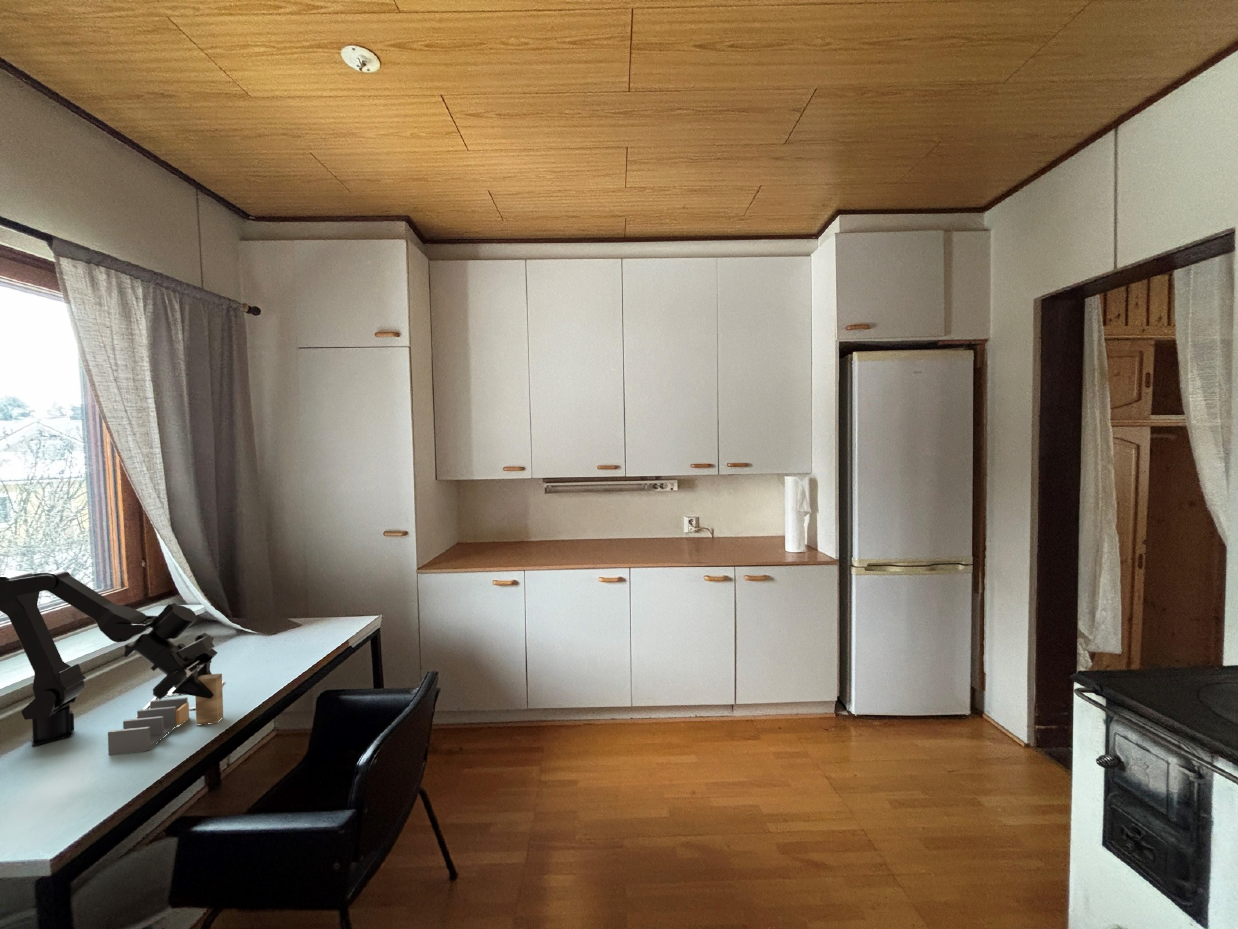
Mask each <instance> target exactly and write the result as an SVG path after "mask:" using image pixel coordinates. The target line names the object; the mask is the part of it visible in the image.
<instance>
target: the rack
mask: <svg viewBox="0 0 1238 929" xmlns="http://www.w3.org/2000/svg"><path fill="white" fill-rule="evenodd" d="M151 700H152V699H151ZM151 700H150V701H151ZM150 701H149V702H150ZM189 708H190V703H189V700H188V697H177V698H165V699H164V698H162V699H160V700H159V699H156V700H152V701H151V702H150V707H149V708H148V709H144V708H141V709H138V710H137V711H136V712H137V715H136V716H137V719H135V718H130V719H129V718H128V719H124V720H122V724H123V726H122V729H113V730H109V731H107V747H108V756H113V755H124V754H133V753H141V752H143V753H144V752H148V751H147V750H149V751H151V750H152V749H153V748H154V747H155V746H157V744H156V743H157V742H159V741H160V739H162V738H163V737H164V736H165V735H166V734H168V732H170V731H171V730H172V729H173V728H174V727H176V726H177V725H180V724H182V723H183V722H184V721H186V720H187V719H188V718H189V719H190V711H189ZM189 719H188V720H189ZM188 720H187V721H188ZM187 721H186V722H187ZM182 725H183V724H182ZM176 728H177V727H176ZM170 733H171V732H170ZM168 735H169V734H168ZM163 739H164V738H163ZM163 739H162V740H163ZM160 742H161V741H160ZM160 742H159V743H160ZM154 745H155V746H154ZM153 746H154V747H153ZM152 747H153V748H152ZM151 748H152V749H151ZM150 749H151V750H150Z"/></svg>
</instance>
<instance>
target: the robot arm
mask: <svg viewBox="0 0 1238 929" xmlns="http://www.w3.org/2000/svg"><path fill="white" fill-rule="evenodd" d="M45 591H46V592H49V593H51V594H52V595H53V596H56V597H57V598H59V599H60V600H62V601H64V602H65V603H67V604H68V605H70V606H71V607H73V608H74V609H75V610H78V611H79V612H81V613H82V614H84V615H86V616H87V617H89V618H90V619H92V620H93V621H94V623H96V625H97V627H98V630H99V631H100V632H101V633H102V634H104V636H105V637H107V638H108V639H109V640H111V641H112V642H113V643H123V642H124V643H125V642H127V641H129V640H131V639H133V638H135V637H137V636H138V637H137V639H135V640H134V641H131V642H128V643H126V644H125V645H124V655H123V656H124V657H125V658H128V657H129V656H132V655H133V654H136V653H137V654H138V655H140V656H141V657H142V658H143V659H145V660H146V661H147V662H149V663H150V664H151V665H152V666H151V667H150V670H152V671H153V672H155V671H156V670H159V671H161V673H162V674H164V675H165V676H164V677H163V678H162V680H160V681H159V682H158V683H157V685H155V686H154V688H152V696H154V697H156V698H157V700H163V699H164V698H166V697H165V696H166V695H167V694H168V692H169V691H170V690H171V689H172V688H176V689H175V690H174V691H173V692H172V694H175V693H176V694H184V695H183V696H192V697H195V696H197V697H203V698H208V699H211V698H212V697H213V696H214V694H213V693H212V692H211V691H210V690H209V689H208V688H207V687H206V686H205V685H204V684H203V683H202V682H201V681H200V680H199V679H198V677H199V676H201V675H209V674H212V672H211V664H212V662H213V661H212V659H214V657H216V656H217V655H218V651H217V650H215V649H214V647H215V645H214V643H213V642H214V639H215V637H214V636H211V635H210V634H208V633H206V632H202V633H201V634H199V635H197V636H196V637H195V639H194V642H192V643H190V644H188V645H185V644H184V643H179V644H175V643H174V642H172V639H173V640H175V639H177V638H179V637H180V636H181V635H182V634H183V633H184V632H186V630H187V629H188V628H190V626H192V624H194V622H195V621H196V620H197V619H198V617H197V614H196V613H195V612H194V610H192V608H190V607H187V606H183V605H181V604H176V603H175V601H174V602H170V603H169V604H167V605H166V606H165V607H164V608H163V610H162V611H161V612H160V613H159V614H158V615H148V614H147V615H146V614H145V613H144V612H142V611H140V610H137V609H135V608H133V607H130V606H125V605H120V604H117V603H115V602H113V601H111V600H109V599H108V598H106V597H105V596H103V595H101V594H100V593H99V592H97V591H95V590H94V589H92V588H91V587H89V586H87V585H86V584H84V583H83V582H81V581H80V580H78V579H77V578H75V577H73V576H72V574H71V573H70V572H68V571H66V570H64V569H63V570H61V569H59V570H54V571H44V572H43V571H42V572H35V573H32V572H28V571H26V570H25V571H24V570H19V571H14V572H11V573H6V574H3V575H0V612H1V613H3V614H4V615H6V616H7V617H8V619H9V621H10V624H11V625H12V627H13V629H14V632H15V635H16V636H17V638H18V640H19V642H20V645H21V647H22V649H23V651H24V654H25V655H26V657H27V659H28V662H29V663H30V666H31V668H32V671H33V672H34V678H33V683H32V693H33V696H34V698H33V699H32V701H30V702H29V703H28V704H27V705H26V706H25V707H24V708H23V709H22V710H20V711H21V712H20V713H21V715H22V717H23V718H24V720H25V721H26V720H31V732H32V735H31V746H32V747H36V746H40V745H43V744H47V743H51V742H55V741H58V740H59V741H60V740H61V739H62V740H63V739H66V738H70V737H72V736H73V731H74V732H75V714H74V710H72V709H71V706H70V705H72V704H74V703H76V702H77V698H78V696H79V695H80V694H81V693H82V691H83V689H84V688H85V681H84V680H86V678H87V677H86V676H84V674H83V673H82V671H81V666H80V664H78V663H76V664H73V665H69V664H68V663H66V662H65V661H64V660H63V658H62V656H61V654H60V652H59V649H58V647H57V645H56V644H55V640H54V639H53V637H52V634H51V633H50V630H49V628H48V626H47V624H46V622H45V620H44V618H43V615H42V613H41V611H40V609H39V606H38V603H39V596H40V592H45ZM150 629H151V630H150ZM149 630H150V631H149ZM146 631H149V632H147V633H146ZM144 632H145V633H144ZM139 635H140V636H139ZM170 639H171V640H170ZM163 697H164V698H163Z"/></svg>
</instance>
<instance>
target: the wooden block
mask: <svg viewBox="0 0 1238 929" xmlns="http://www.w3.org/2000/svg"><path fill="white" fill-rule="evenodd" d="M198 679H199V680H200V681H201V682H202V683H203V684H204V685H205V686H206V687H207V688H208V689H209V690H210V691H211V692H212V693H213V694H214V696H213V697H212V698H211V699H208V698H203V697H197V696H194V697H195V707H196V710H195V720H196V724H207V725H209V724H208V723H217V724H219V723H218V721H219V720H220V719H221V718H223V719H224V699H223V698H224V697H223V685H222V681H223V674H222V673H211V674H209V675H201V676H199V677H198ZM196 724H195V725H196Z"/></svg>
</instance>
